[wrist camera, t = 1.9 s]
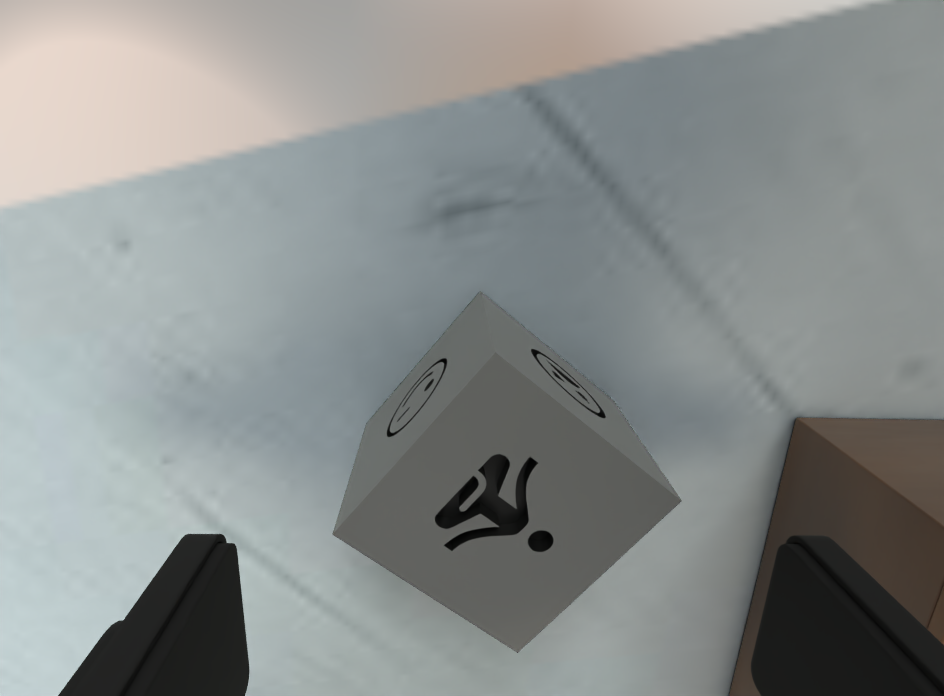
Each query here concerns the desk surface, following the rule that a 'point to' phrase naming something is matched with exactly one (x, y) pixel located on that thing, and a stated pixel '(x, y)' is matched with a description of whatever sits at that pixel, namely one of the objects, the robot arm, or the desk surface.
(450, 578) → the dice cube
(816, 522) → the walnut block
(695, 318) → the desk surface
